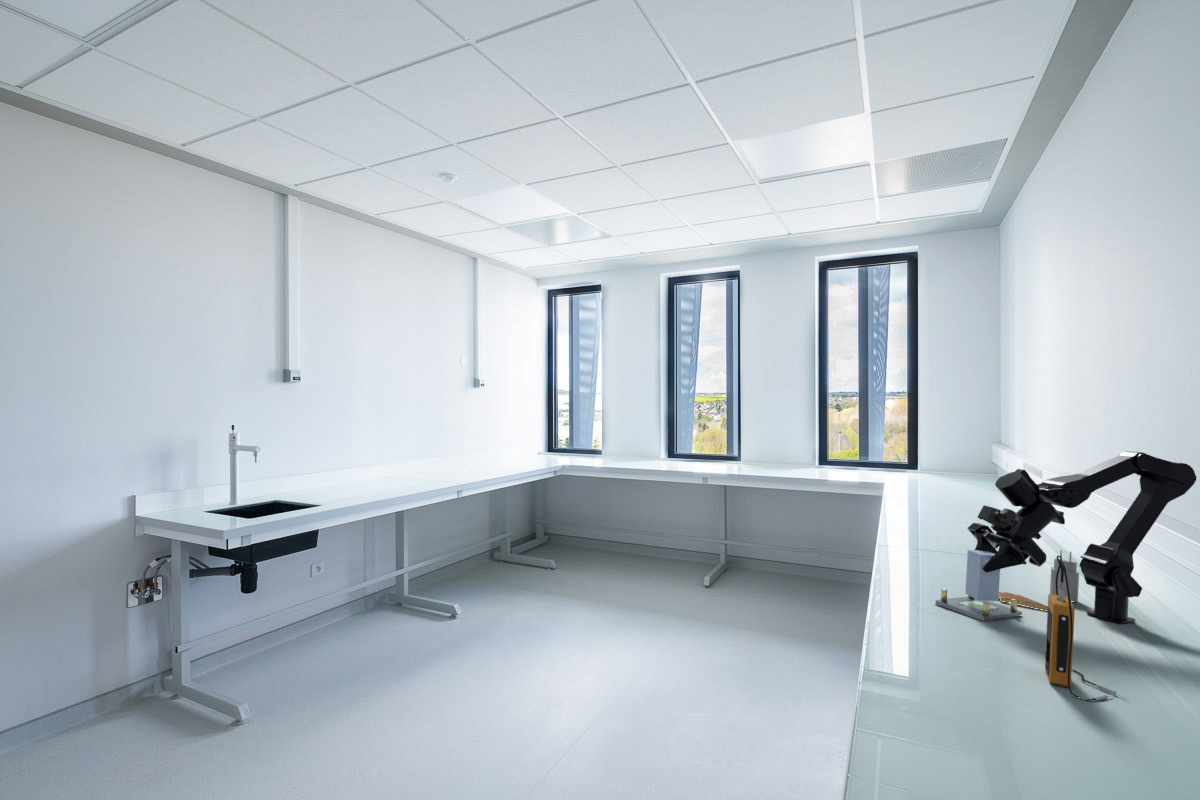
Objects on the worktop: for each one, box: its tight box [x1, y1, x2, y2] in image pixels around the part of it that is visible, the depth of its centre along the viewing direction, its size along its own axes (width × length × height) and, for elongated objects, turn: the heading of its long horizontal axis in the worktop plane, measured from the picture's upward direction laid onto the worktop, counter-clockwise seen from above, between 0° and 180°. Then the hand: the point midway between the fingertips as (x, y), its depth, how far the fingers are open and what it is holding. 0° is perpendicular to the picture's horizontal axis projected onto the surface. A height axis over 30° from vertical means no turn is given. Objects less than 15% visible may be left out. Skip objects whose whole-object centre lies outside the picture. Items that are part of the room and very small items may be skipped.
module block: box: [964, 549, 1001, 602], centre depth 132 cm, size 4×5×10 cm
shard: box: [999, 591, 1048, 611], centre depth 138 cm, size 11×8×2 cm
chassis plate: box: [935, 588, 1023, 622], centre depth 132 cm, size 13×11×4 cm
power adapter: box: [1049, 549, 1080, 603], centre depth 145 cm, size 3×5×12 cm, turn 51°
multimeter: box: [1044, 555, 1129, 701], centre depth 95 cm, size 15×10×20 cm
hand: (977, 567), depth 132 cm, fingers closed on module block, 5 cm apart
